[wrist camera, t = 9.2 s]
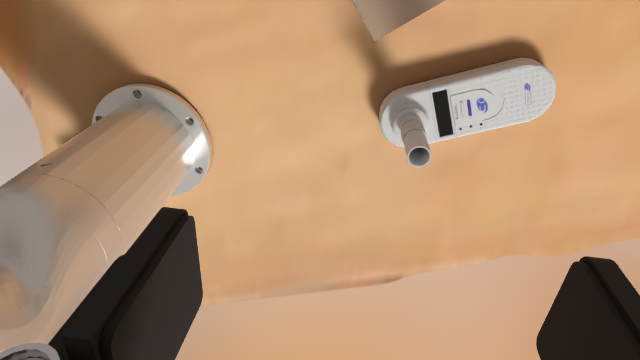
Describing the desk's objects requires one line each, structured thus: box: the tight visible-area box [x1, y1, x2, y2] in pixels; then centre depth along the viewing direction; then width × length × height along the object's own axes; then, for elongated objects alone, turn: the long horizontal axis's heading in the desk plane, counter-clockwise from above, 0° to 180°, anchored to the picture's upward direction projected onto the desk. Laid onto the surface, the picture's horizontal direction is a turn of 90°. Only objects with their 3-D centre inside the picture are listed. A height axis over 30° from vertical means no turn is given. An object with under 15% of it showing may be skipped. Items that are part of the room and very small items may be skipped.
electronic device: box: [379, 58, 556, 167], centre depth 35 cm, size 5×10×15 cm
